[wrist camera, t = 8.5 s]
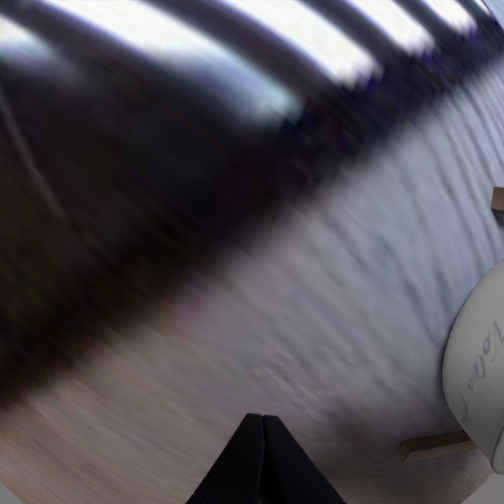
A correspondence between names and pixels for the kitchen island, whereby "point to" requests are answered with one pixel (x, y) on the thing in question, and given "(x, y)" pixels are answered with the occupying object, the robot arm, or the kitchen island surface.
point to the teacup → (479, 367)
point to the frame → (450, 442)
